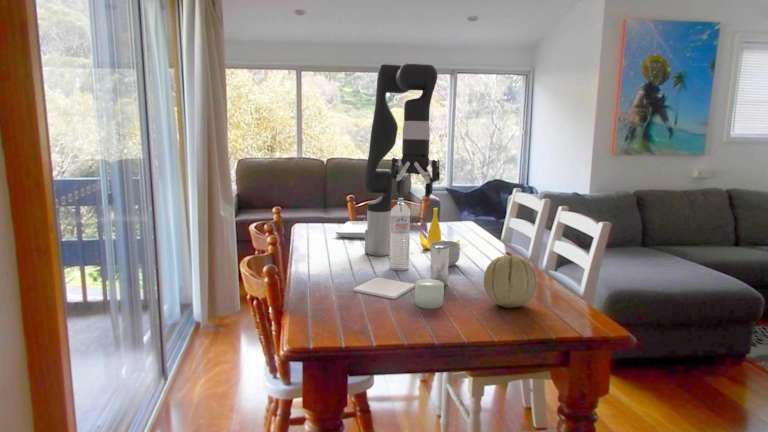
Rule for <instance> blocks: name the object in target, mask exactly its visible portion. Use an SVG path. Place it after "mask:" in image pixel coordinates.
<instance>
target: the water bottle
mask: <svg viewBox="0 0 768 432" xmlns="http://www.w3.org/2000/svg"><path fill="white" fill-rule="evenodd" d="M397 201H398V202H397V203H396V204H395V205H393V206H392V207H391V232H390V254H389V268H390V270H393V271H397V272H399V271H400V272H401V271H407V270H408V269H409V266H410V245H411V243H410V242H411V241H410V240H411V239H410V238H411V233H410V229H411V225H410V224H411V209H410V207H409V206H408V205H407V204H406V203H404V198H403V197H399V198H398V199H397Z"/></svg>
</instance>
